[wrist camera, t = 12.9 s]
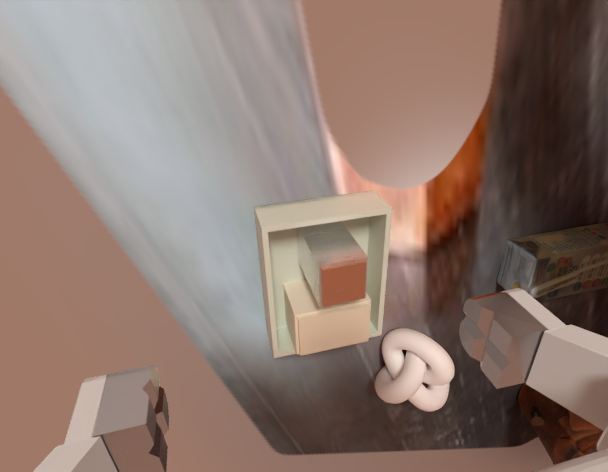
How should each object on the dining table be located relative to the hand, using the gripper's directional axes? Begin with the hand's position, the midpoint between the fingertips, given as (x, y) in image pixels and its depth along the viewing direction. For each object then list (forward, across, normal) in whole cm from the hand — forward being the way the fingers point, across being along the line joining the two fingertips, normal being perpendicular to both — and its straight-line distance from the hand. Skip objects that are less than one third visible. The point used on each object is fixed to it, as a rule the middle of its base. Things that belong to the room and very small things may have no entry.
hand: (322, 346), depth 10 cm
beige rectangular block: (+32, -8, +25) cm, 41 cm away
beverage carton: (+33, -45, +26) cm, 62 cm away
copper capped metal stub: (+32, -8, +16) cm, 37 cm away
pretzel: (+33, -21, +38) cm, 54 cm away
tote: (+32, -8, +20) cm, 39 cm away
